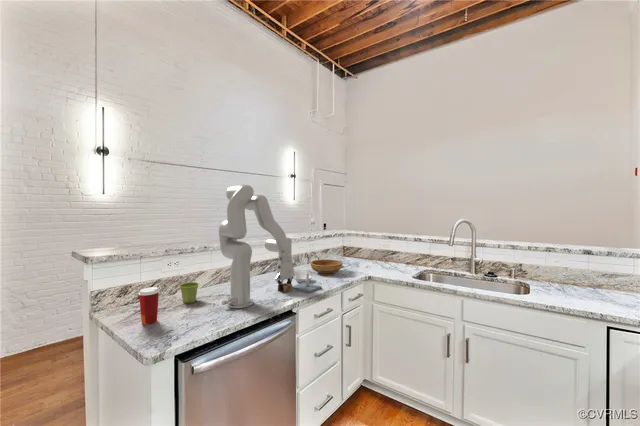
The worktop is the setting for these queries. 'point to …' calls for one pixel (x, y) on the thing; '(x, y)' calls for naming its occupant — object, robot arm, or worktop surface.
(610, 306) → the worktop surface
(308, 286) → the post board
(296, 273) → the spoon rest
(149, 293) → the paper cup
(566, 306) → the worktop surface
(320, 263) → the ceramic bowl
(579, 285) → the worktop surface
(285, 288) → the collar
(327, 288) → the worktop surface
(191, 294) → the plant pot
